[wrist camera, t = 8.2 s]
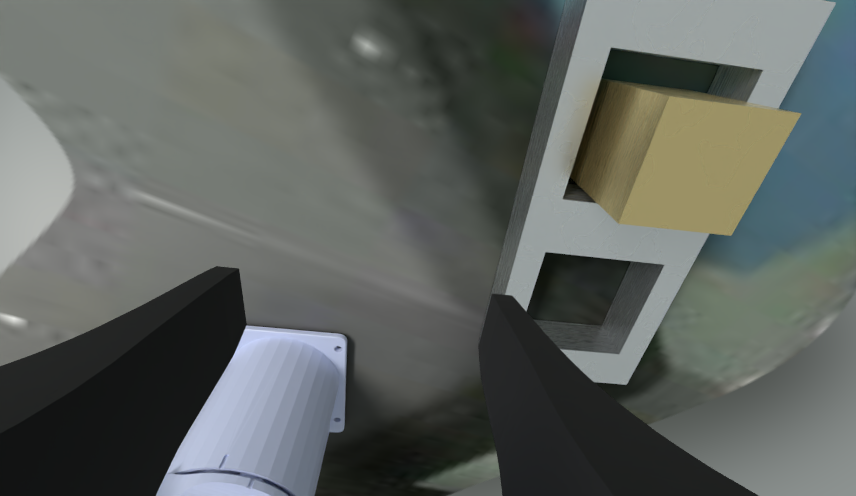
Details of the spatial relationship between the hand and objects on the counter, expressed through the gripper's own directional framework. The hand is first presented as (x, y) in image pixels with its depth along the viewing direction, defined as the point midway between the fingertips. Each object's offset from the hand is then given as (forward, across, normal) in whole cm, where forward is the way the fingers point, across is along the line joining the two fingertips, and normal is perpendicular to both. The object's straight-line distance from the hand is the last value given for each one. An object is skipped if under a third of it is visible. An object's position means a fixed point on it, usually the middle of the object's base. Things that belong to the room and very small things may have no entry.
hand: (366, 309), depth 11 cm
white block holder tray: (+10, -11, 0) cm, 15 cm away
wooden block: (+10, -11, -4) cm, 15 cm away
